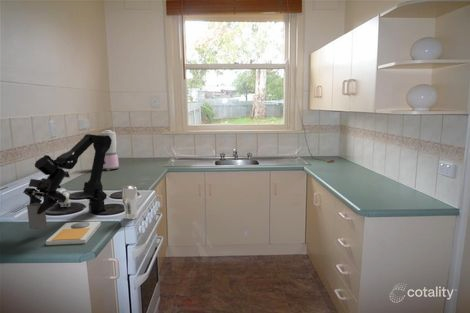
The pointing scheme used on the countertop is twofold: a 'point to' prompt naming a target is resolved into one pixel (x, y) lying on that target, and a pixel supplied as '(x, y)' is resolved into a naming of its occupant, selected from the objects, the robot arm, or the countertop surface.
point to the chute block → (36, 216)
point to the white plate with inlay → (74, 233)
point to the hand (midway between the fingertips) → (33, 213)
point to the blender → (111, 152)
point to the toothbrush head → (67, 202)
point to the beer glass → (130, 201)
